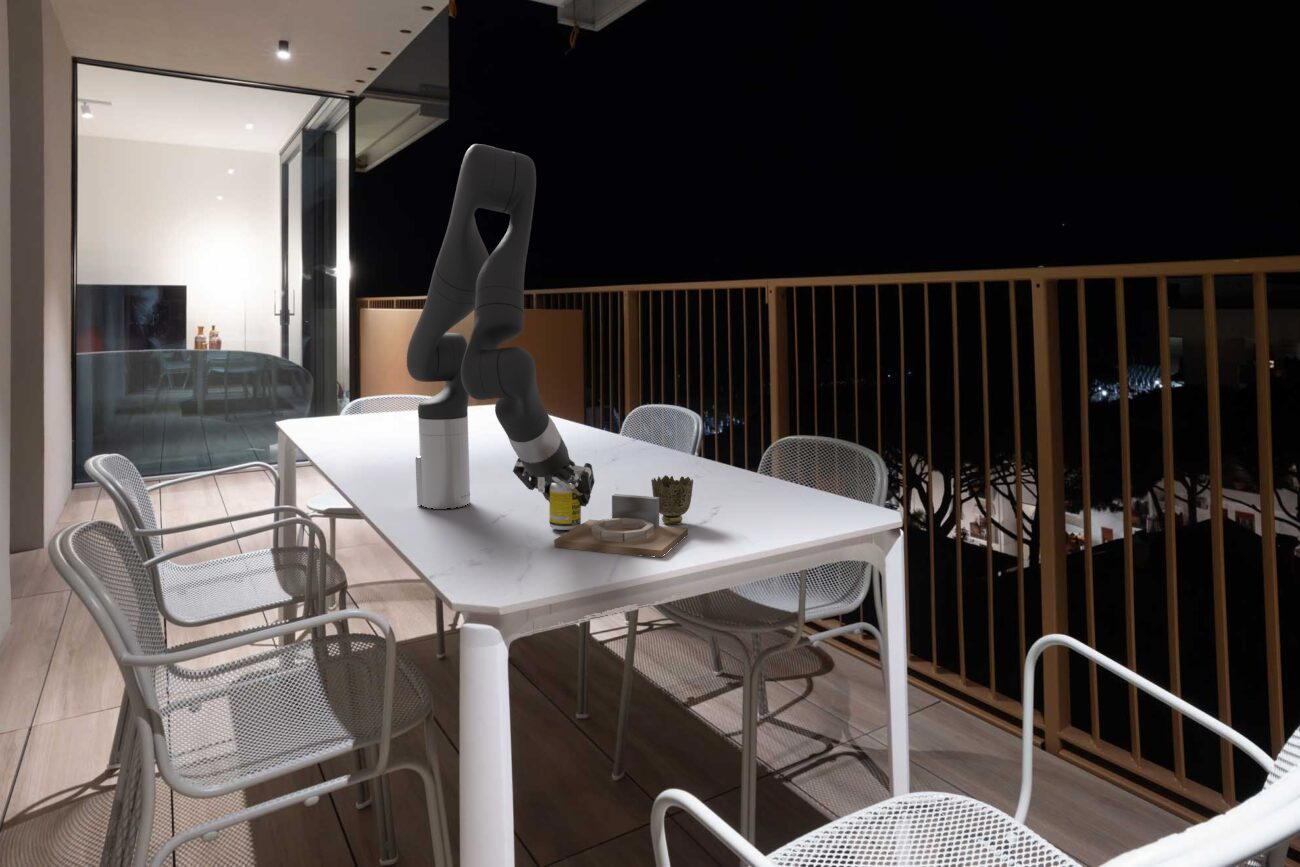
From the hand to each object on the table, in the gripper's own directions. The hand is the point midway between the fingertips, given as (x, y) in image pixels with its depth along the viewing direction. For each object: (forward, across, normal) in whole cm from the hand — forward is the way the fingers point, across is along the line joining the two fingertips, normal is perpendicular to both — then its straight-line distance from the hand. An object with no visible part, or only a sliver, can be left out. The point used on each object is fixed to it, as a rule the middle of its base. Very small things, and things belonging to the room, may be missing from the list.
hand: (569, 500), depth 142 cm
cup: (+9, -16, -2) cm, 19 cm away
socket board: (-1, -12, +7) cm, 14 cm away
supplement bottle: (+2, 0, +4) cm, 5 cm away
